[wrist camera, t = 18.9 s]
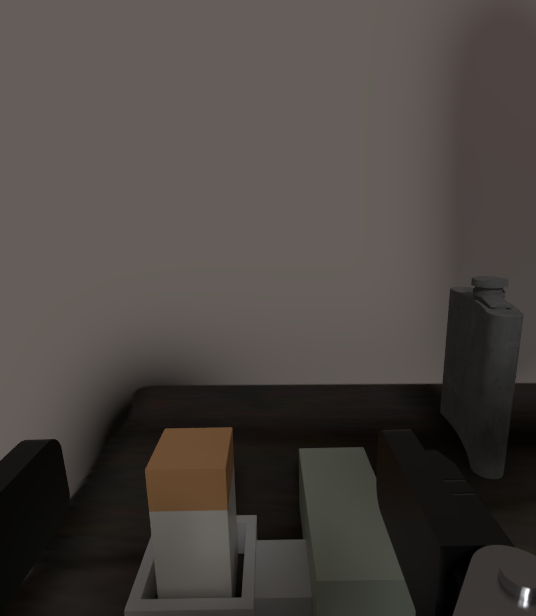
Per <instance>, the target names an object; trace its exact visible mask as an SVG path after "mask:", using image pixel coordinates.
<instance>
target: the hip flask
mask: <svg viewBox="0 0 536 616" xmlns="http://www.w3.org/2000/svg"><path fill="white" fill-rule="evenodd" d="M471 285H473V286H475V288H469V287H453V288H451V289H450V299H449V311H448V324H447V336H446V348H445V360H444V373H443V385H442V397H441V409H440V413H441V414H442V415H443V416H444V417H445V418H446V419H447V420H448V422H449V423H450V424H451V425H452V427H453V428H454V429H455V431H456V432H457V434H458V436H459V438H460V439H461V441H462V443H463V445H464V447H465V450H466V452H467V455H468V459H469V463H470V468H471V470H472V471H473V472H474V473H476V474H477V475H479V476H481V477H484V478H487V479H499V478H502V477H503V474H504V466H505V458H506V450H507V442H508V434H509V426H510V418H511V410H512V402H513V394H514V386H515V378H516V370H517V362H518V353H519V345H520V338H521V330H522V322H523V313H522V312H520V310H518V309H517V308H516V307H514V306H513V305H511V304H510V303H508V302H507V301H505V300H504V299H503V298H504V297H505V291H504V290H503V288H505V287H507V286H508V279H505V278H500V277H486V276H485V277H473V278H472V284H471Z"/></svg>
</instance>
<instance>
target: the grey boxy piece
mask: <svg viewBox="0 0 536 616" xmlns="http://www.w3.org/2000/svg"><path fill="white" fill-rule="evenodd" d="M299 507H300V516H301V525H302V534H303V540H257V515H236V521H237V543H238V554H243V553H244V567H243V582H242V597H240V598H187V599H155V598H156V595H157V583H156V573H155V563H154V554H153V544H152V535H151V538H150V541H149V543H148V546H147V549H146V552H145V554H144V557H143V560H142V563H141V566H140V568H139V571H138V574H137V577H136V579H135V582H134V585H133V588H132V590H131V593H130V596H129V599H128V602H127V604H126V607H125V610H124V616H415V612H416V610H415V607H414V605H413V602H412V599H411V596H410V593H409V591H408V588H407V585H406V582H405V579H404V577H403V574H402V571H401V568H400V566H399V563H398V560H397V557H396V554H395V552H394V549H393V546H392V543H391V541H390V538H389V535H388V532H387V529H386V527H385V524H384V521H383V518H382V516H381V513H380V509H379V505H378V499H377V490H376V477H375V474H374V472H373V469H372V467H371V465H370V462H369V460H368V457H367V455H366V452H365V450H364V448H363V447H352V448H302V449H299Z"/></svg>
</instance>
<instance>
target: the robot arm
mask: <svg viewBox="0 0 536 616" xmlns="http://www.w3.org/2000/svg"><path fill="white" fill-rule="evenodd" d="M376 490H377V499H378V505H379V509H380V513H381V516H382V518H383V521H384V524H385V527H386V529H387V532H388V535H389V538H390V541H391V543H392V546H393V549H394V552H395V554H396V557H397V560H398V563H399V566H400V568H401V571H402V574H403V577H404V579H405V582H406V585H407V588H408V591H409V593H410V596H411V599H412V602H413V605H414V607H415V610H416V613H417V616H536V556H534V555H533V554H530V553H528V552H526V551H524V550H521V549H518V548H515V547H514V545H513V544H512V543H511V541H510V540H509V538H508V537H507V536H506V534H505V533H504V531H503V530H502V529H501V527H500V526H499V524H498V523H497V522H496V520H495V519H494V517H493V516H492V515H491V513H490V512H489V511H488V509H487V508H486V506H485V505H484V504H483V502H482V501H481V499H480V498H479V497H478V496H476V494H475V491H474V490H473V488H472V487H471V485H470V484H469V483H468V482H466V478H465V477H464V476H463V474H462V473H461V472H460V470H459V469H458V467H457V466H456V465H455V463H454V462H452V461H451V460H450V459H448V458H447V457H445V456H444V455H443V454H441V453H440V452H438V451H437V450H424V448H423V447H422V445H421V444H420V442H419V440H418V439H417V437H416V436H415V434H414V433H413V431H412V430H410V429H401V430H380V431H379V433H378V445H377V477H376ZM69 499H70V493H69V487H68V481H67V476H66V470H65V466H64V460H63V454H62V449H61V445H60V443H59V442H58V441H57V440H55V439H46V440H24V441H21V442H20V443H19V444H18V445H17V446H16V447H15V448H13V449H12V450H11V451H10V452H9V453H8V454H7V455H6V456H5V457H4V458H3V459H2V460H1V461H0V615H1V614H2V612H3V611H4V609H5V608H6V606H7V605H8V603H9V602H10V600H11V599H12V597H13V596H14V594H15V593H16V591H17V590H18V588H19V587H20V585H21V584H22V582H23V581H24V579H25V578H26V576H27V575H28V573H29V572H30V570H31V569H32V567H33V566H34V564H35V562H36V561H37V559H38V558H39V556H40V555H41V553H42V552H43V550H44V549H45V547H46V546H47V544H48V543H49V541H50V540H51V538H52V537H53V535H54V534H55V532H56V531H57V529H58V528H59V526H60V525H61V523H62V522H63V520H64V518H65V516H66V513H67V510H68V506H69Z"/></svg>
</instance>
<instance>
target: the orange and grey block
mask: <svg viewBox="0 0 536 616" xmlns="http://www.w3.org/2000/svg"><path fill="white" fill-rule="evenodd" d="M145 474H146V484H147V494H148V504H149V514H150V524H151V534H152V544H153V554H154V563H155V573H156V583H157V593H158V599H187V598H235V595H236V584H237V572H238V543H237V521H236V499H235V477H234V454H233V432H232V427H228V428H176V429H165V430H164V432H163V434H162V436H161V438H160V440H159V442H158V444H157V446H156V448H155V451H154V453H153V455H152V457H151V459H150V461H149V463H148V465H147V467H146V469H145Z"/></svg>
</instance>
